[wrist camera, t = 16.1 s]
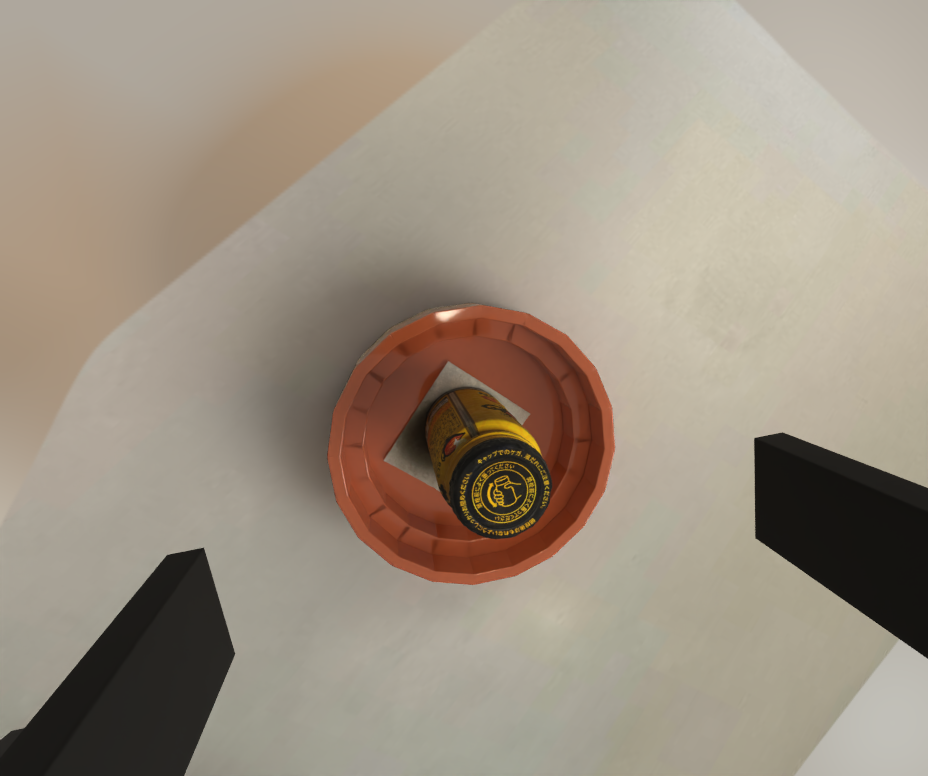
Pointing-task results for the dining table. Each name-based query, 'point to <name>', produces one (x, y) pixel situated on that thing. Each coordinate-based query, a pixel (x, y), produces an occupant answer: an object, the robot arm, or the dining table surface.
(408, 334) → the bowl
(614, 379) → the dining table surface
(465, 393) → the condiment
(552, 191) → the dining table surface
